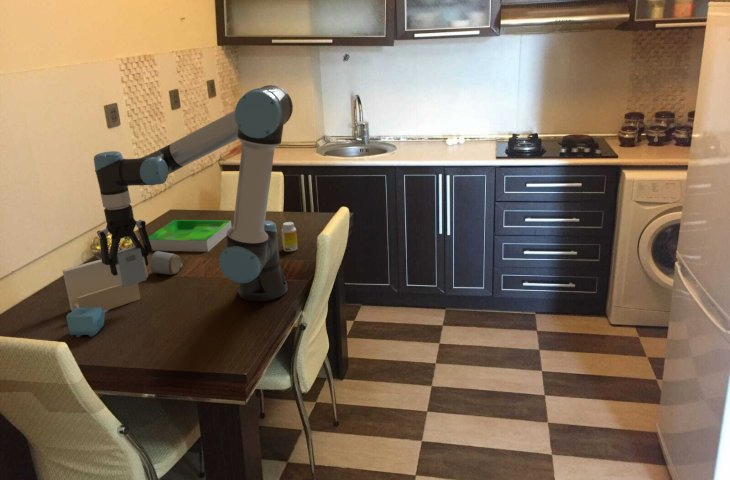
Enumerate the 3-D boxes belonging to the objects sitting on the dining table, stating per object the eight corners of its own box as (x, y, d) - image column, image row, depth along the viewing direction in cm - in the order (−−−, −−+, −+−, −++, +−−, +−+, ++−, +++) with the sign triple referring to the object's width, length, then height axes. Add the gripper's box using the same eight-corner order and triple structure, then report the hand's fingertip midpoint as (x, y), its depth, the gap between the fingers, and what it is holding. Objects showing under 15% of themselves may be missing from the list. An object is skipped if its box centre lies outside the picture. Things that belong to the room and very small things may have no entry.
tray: (208, 252, 234) (206, 240, 233) (146, 251, 238) (144, 239, 237) (232, 231, 258) (230, 220, 256) (175, 231, 262) (174, 219, 260)
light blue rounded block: (116, 326, 177) (112, 302, 174) (108, 337, 171) (103, 312, 168) (75, 328, 177) (69, 304, 174) (65, 338, 171) (59, 313, 169)
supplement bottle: (300, 249, 232) (298, 223, 229) (288, 253, 229) (285, 226, 226) (292, 245, 236) (290, 220, 233) (280, 249, 233) (277, 223, 230)
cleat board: (140, 299, 194) (133, 260, 190) (82, 318, 183) (73, 277, 178) (128, 291, 200) (121, 253, 196) (70, 309, 189) (62, 269, 185)
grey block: (147, 280, 186) (141, 249, 183) (125, 287, 182) (118, 255, 178) (141, 277, 189) (135, 246, 186) (119, 284, 184) (112, 252, 181)
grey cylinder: (171, 278, 210) (168, 256, 208) (151, 276, 212) (147, 255, 210) (188, 267, 220) (186, 246, 217) (168, 265, 222) (165, 245, 219)
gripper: (144, 196, 187) (157, 267, 194) (77, 212, 174) (94, 288, 181) (156, 200, 182) (169, 272, 189) (87, 216, 169) (104, 294, 176)
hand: (132, 280), depth 185 cm, fingers closed on grey block, 7 cm apart
